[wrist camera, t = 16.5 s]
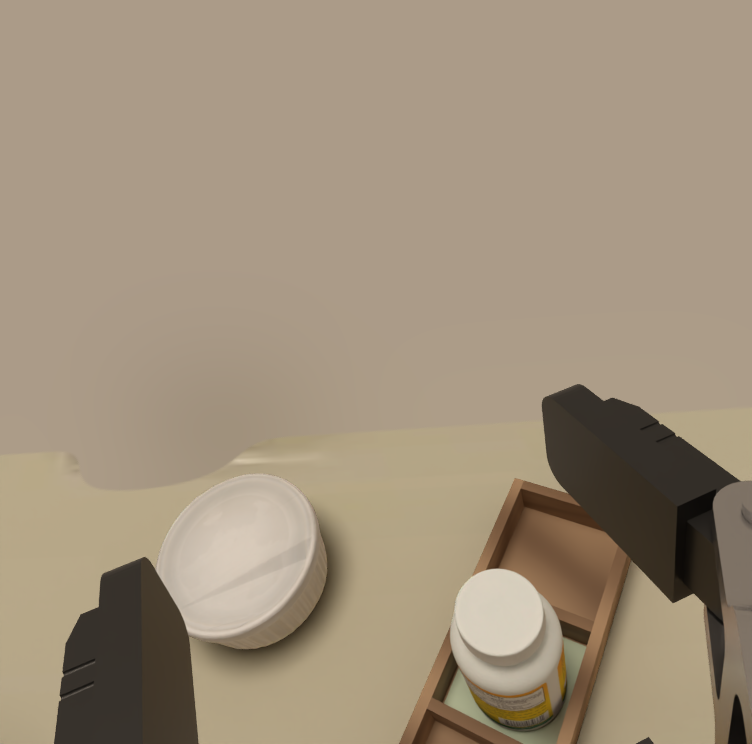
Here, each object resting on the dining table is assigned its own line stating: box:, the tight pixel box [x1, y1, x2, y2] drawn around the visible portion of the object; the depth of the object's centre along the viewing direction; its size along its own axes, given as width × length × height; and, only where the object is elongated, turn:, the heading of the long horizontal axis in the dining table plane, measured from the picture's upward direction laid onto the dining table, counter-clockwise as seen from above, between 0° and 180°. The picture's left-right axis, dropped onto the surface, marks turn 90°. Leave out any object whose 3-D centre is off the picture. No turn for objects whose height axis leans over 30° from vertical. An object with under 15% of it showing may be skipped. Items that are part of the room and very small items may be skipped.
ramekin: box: [156, 474, 327, 649], centre depth 42 cm, size 11×11×5 cm
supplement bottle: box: [450, 569, 567, 731], centre depth 32 cm, size 5×5×10 cm
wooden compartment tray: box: [399, 478, 631, 744], centre depth 35 cm, size 22×8×3 cm, turn 151°
